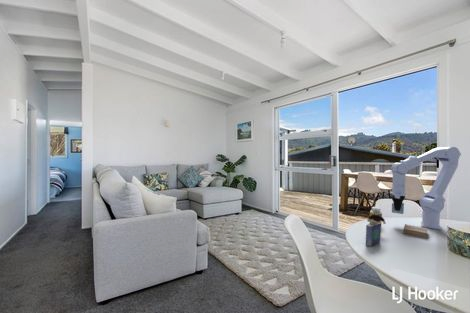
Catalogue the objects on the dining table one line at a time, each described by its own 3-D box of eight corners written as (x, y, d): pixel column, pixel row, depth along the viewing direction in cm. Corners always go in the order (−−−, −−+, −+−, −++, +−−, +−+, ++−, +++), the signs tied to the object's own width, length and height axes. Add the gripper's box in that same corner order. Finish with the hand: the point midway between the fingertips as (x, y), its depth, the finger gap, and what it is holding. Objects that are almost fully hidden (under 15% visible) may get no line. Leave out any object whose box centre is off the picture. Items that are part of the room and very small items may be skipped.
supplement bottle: (378, 228, 120) (378, 209, 120) (367, 225, 125) (367, 207, 125) (383, 226, 123) (384, 208, 123) (372, 224, 128) (373, 205, 128)
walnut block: (404, 229, 120) (405, 224, 120) (427, 234, 114) (427, 228, 114) (403, 234, 114) (403, 228, 113) (426, 239, 108) (427, 233, 108)
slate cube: (392, 210, 129) (392, 201, 129) (403, 212, 126) (403, 203, 126) (391, 212, 126) (391, 203, 125) (403, 214, 122) (403, 204, 122)
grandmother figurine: (367, 233, 113) (368, 208, 113) (366, 230, 117) (367, 206, 116) (386, 235, 110) (386, 209, 110) (384, 233, 114) (385, 207, 113)
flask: (370, 247, 97) (370, 222, 97) (363, 244, 100) (363, 220, 99) (381, 243, 102) (382, 219, 101) (374, 240, 104) (375, 217, 104)
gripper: (391, 182, 133) (390, 205, 134) (388, 185, 122) (387, 210, 123) (406, 183, 129) (405, 207, 129) (404, 186, 118) (403, 213, 118)
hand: (398, 209), depth 126 cm, fingers closed on slate cube, 5 cm apart
